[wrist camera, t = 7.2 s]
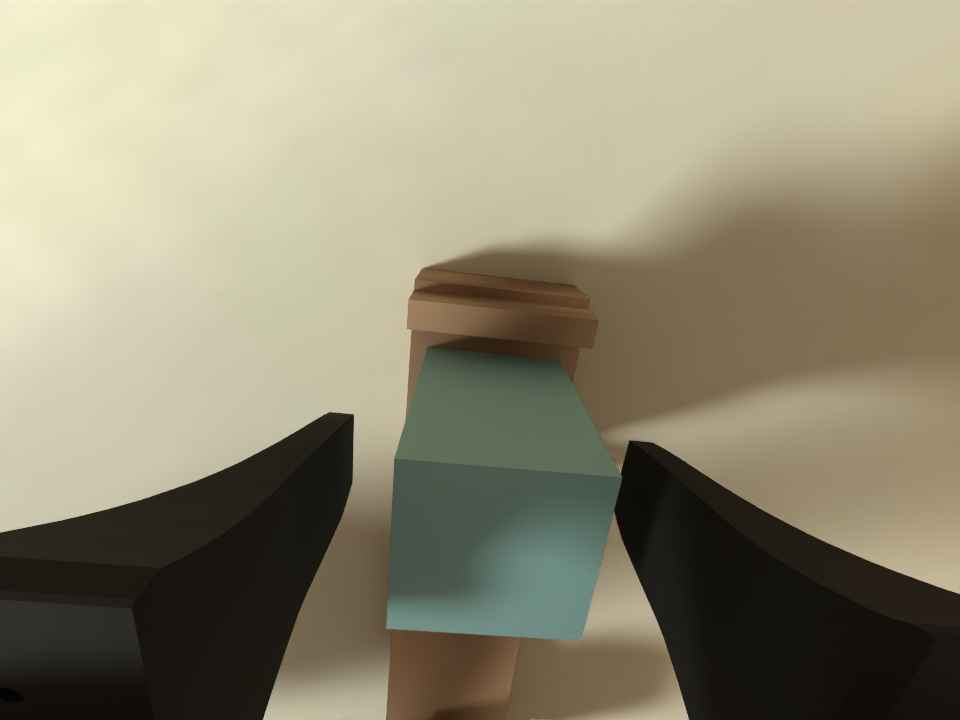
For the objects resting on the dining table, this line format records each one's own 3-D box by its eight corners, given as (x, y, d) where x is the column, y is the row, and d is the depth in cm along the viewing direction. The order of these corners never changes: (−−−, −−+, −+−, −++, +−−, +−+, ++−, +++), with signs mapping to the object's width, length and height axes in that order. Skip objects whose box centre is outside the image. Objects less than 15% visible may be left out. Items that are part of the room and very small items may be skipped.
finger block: (417, 478, 15) (385, 649, 9) (427, 347, 13) (394, 458, 8) (537, 487, 15) (575, 661, 10) (559, 360, 14) (622, 477, 8)
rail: (388, 745, 23) (347, 1017, 15) (422, 268, 15) (369, 347, 7) (487, 750, 23) (494, 1020, 15) (574, 285, 15) (679, 379, 7)
